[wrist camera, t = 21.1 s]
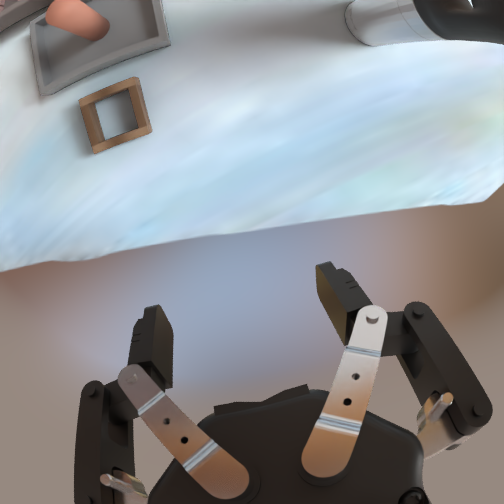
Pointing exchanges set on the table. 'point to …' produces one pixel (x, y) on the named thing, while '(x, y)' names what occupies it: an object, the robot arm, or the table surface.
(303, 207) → the table surface
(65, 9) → the dowel
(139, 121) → the dowel collar
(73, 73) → the tray
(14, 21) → the organizer tray
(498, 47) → the table surface
